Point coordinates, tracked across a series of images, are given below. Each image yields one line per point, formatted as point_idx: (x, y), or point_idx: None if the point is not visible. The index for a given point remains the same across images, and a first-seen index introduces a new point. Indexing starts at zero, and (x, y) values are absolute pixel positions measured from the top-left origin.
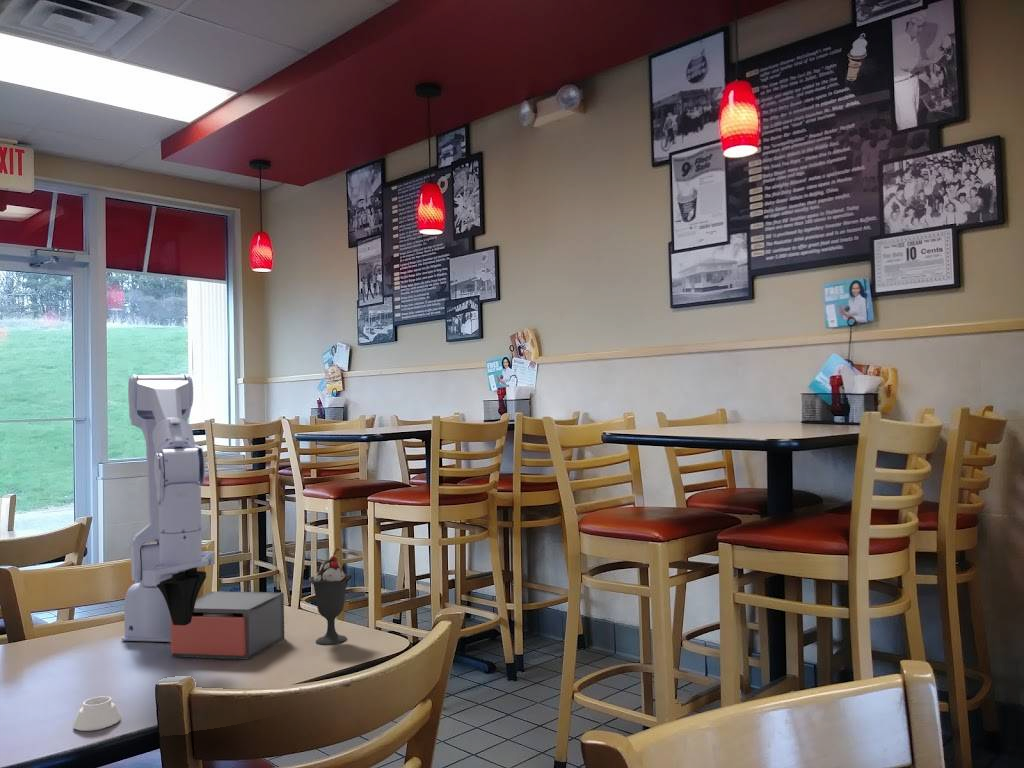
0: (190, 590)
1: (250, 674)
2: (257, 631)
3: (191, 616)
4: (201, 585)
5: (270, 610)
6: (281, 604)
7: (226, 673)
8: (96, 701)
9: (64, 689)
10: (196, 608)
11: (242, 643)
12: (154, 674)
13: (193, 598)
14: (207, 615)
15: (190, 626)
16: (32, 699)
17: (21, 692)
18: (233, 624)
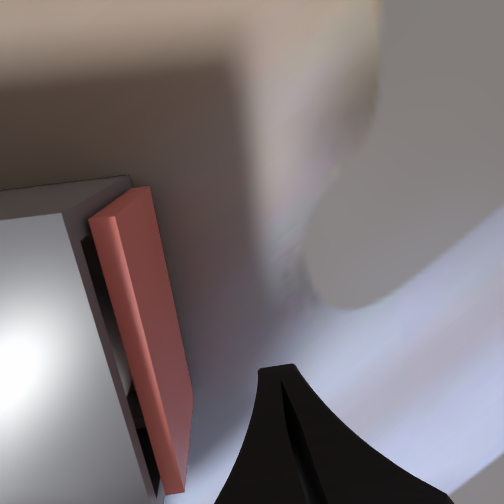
0: (349, 469)
1: (258, 69)
2: (40, 195)
3: (266, 380)
4: (226, 493)
5: None
6: None
7: (265, 157)
8: None
9: (420, 434)
10: (133, 452)
11: (142, 194)
12: (309, 339)
13: (280, 436)
14: (125, 393)
15: (173, 405)
16: (474, 441)
17: (439, 484)
18: (133, 251)
